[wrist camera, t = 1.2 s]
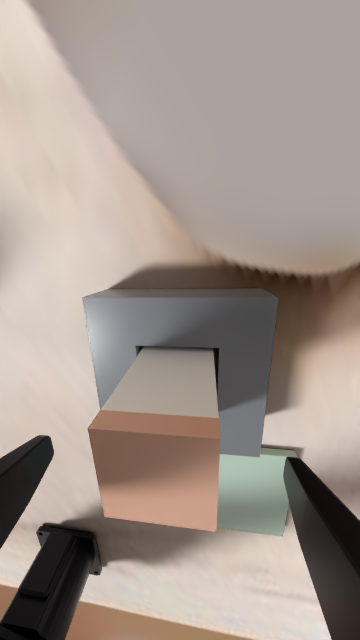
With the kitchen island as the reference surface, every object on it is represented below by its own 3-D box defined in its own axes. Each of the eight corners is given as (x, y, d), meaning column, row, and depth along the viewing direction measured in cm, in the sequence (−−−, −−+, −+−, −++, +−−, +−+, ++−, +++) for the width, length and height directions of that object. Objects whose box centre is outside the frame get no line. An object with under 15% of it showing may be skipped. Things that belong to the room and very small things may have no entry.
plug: (210, 388, 15) (216, 531, 7) (155, 385, 15) (104, 516, 7) (212, 335, 13) (220, 439, 6) (152, 334, 14) (87, 428, 6)
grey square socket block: (249, 420, 16) (259, 457, 13) (122, 412, 17) (106, 443, 14) (262, 288, 13) (278, 297, 10) (107, 289, 14) (82, 297, 11)
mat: (280, 527, 19) (282, 536, 18) (180, 515, 20) (180, 522, 19) (294, 450, 16) (297, 457, 15) (178, 440, 17) (177, 447, 16)
